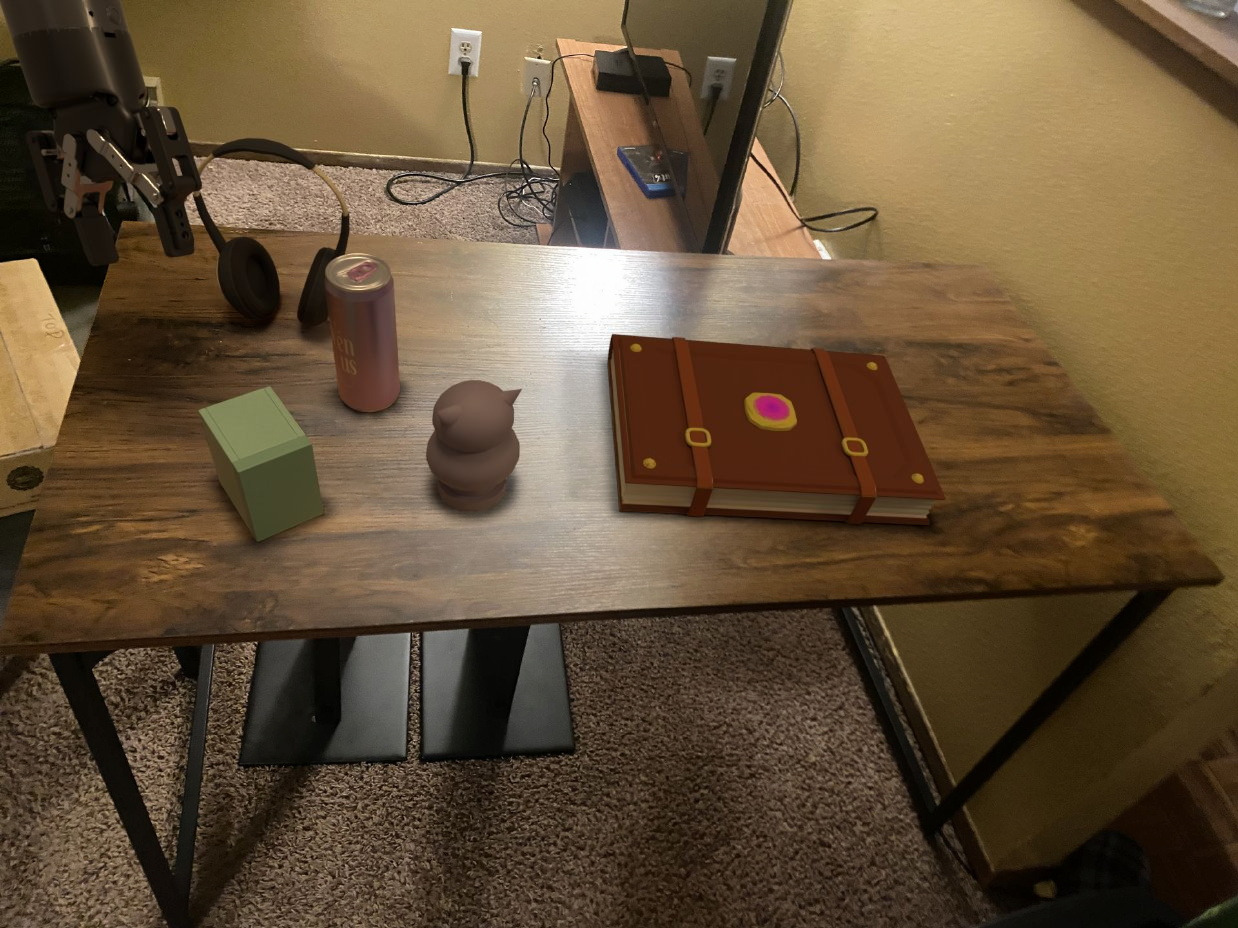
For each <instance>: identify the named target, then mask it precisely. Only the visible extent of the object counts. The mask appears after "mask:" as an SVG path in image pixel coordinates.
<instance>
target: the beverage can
mask: <svg viewBox="0 0 1238 928" xmlns="http://www.w3.org/2000/svg"><path fill="white" fill-rule="evenodd" d="M325 275H326V276H325V280H324V285H325V292H326V300H327V307H328V315H329V321H328V323H329V329H330V336H331V345H332V353H333V359H334V366H335V367H334V368H335V374H336V375H335V376H336V383H337V391H338V395H339V397H340V399H341V400H342V402H343V403H344V404H345V405H347V406H348V407H349V408H351V409H352V410H355V411H358V412H362V413H375V412H381V411H383V410H386V409H387V408H389V407H390V406H392V404H394V402H395V401H396V400H398V397H399V395H400V392H401V385H400V384H401V383H400V365H399V363H400V362H399V350H398V349H399V348H398V346H399V345H398V333H397V331H398V330H397V315H396V314H397V313H396V299H395V298H396V297H395V296H396V295H395V281H394V278H393V275H392V270H391V267H390V266H389V264H388V263H387V261H385V260H384V259H382V258H381V257H379V256H376V255H373V254H369V253H362V252H361V253H360V252H354V253H353V252H352V253H348V254H346V253H345V255H342V256H339V257H337V258H335V259H333V260H332V261H331V262H330V263H329V264H328V265H327V267H326V270H325Z"/></svg>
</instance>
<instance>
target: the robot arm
mask: <svg viewBox="0 0 1238 928" xmlns="http://www.w3.org/2000/svg"><path fill="white" fill-rule="evenodd" d="M0 9H1V12H2V13H3V17H4V19H5V21H6V25H7V29H8V31H9V34H10V37H11V40H12V44H13V46H14V50H15V53H16V54H17V58H18V61H19V64H20V67H21V70H22V73H23V75H24V79H25V82H26V85H27V88H28V92H29V94H30V97H31V100H32V102H33V103H34V104H35V105H36V106H38V107H39V108H43V109H46V110H47V111H48V112H49V113H50V114H51V117H52V121H53V130H28V131H27V132H26V134H25V137H26V143H27V146H28V148H29V152H30V155H31V159H32V162H33V165H34V169H35V172H36V175H37V178H38V181H39V185H40V188H41V191H42V195H43V199H44V202H45V205H46V207H47V209H48V210H49V211H50V212H52V213H56V212H59V213H63V214H65V215H66V216H67V217H68V218H69V219H72V220H73V223H74V225H75V228H76V231H77V235H78V237H79V240H80V243H81V244H80V245H81V246H82V250H83V252H84V255H85V256H86V258H87V261H88V263H89V264H90V265H91V266H93V267H99V266H107V265H112V264H117V263H118V262H119V261H120V256H119V253H118V250H117V249H118V248H117V246H116V243H115V240H114V237H113V234H112V231H111V228H110V224H109V222H108V218H107V216H106V215H102V214H103V213H104V207H105V201H106V195H107V193H108V192H109V191H111V190H112V189H113V186H114V182H116V181H122V180H124V181H126V182H127V183H129V184H130V185H133V186H136V187H137V188H138V189H139V191H141V193H142V194H143V195H144V196H145V197H146V198H147V200H149V202H150V203H151V204H152V205H154V206H156V207H151V208H150V209H151V213H152V216H153V220H154V222H155V225H156V229H157V232H158V236H159V239H160V243H161V246H162V248H163V249H162V250H163V252H164V255H165V256H166V257H167V258H171V259H172V258H173V259H174V258H181V257H185V256H191V255H193V254H194V253H195V251H196V250H195V249H196V248H195V236H194V233H193V230H192V227H191V222H190V220H189V216H188V213H187V209H186V204H185V203H186V202H187V200H188V197H189V196H191V194H193V192H195V191H199V192H200V191H201V190H202V189H203V182H202V179H201V176H200V175H199V172H198V166H197V163H196V160H195V158H194V153H193V151H192V147H191V145H190V141H189V138H188V135H187V133H186V129H185V126H184V123H183V120H182V117H181V115H180V114H181V113H180V111H179V109H177V107H175V106H165V105H150V106H147V105H145V106H144V105H143V106H142V105H141V102H142V101H144V100H145V99H146V98H147V96H148V90H147V89H148V88H147V86H146V83H145V79H144V76H143V73H142V72H143V71H142V69H141V66H140V62H139V59H138V55H137V52H136V48H135V45H134V41H133V38H132V35H131V31H130V28H129V24H128V21H127V18H126V14H125V11H124V8H123V3H122V1H121V0H0ZM173 159H174V160H176V161H177V163H178V167H179V169H180V172H181V173H180V174H181V175H178V173H177V169H176V166H175V164H174V161H173ZM82 174H83V175H82ZM57 179H60V180H61V181H60V184H62V185H63V186H64V188H65V194H60V192H59V188H58V185H57V184H58V183H57V182H56V181H57ZM85 194H87V198H86V197H84V195H85Z"/></svg>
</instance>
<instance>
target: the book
mask: <svg viewBox="0 0 1238 928" xmlns="http://www.w3.org/2000/svg"><path fill="white" fill-rule="evenodd" d="M607 373H608V387H609V399H610V411H611V423H612V433H613V435H612V436H613V437H612V438H613V449H614V460H615V461H614V462H615V473H616V484H617V487H616V488H617V496H618V508H619V511H621V512H622V511H623V512H627V511H628V512H639V513H640V512H641V513H643V512H644V513H663V514H664V513H665V514H685V515H687V516H688V517H699V518H702V517H704V516H705V515H706V516H727V517H729V516H730V517H750V518H769V519H791V520H812V521H813V520H814V521H831V522H833V521H835V522H845V524H848V525H862V524H863V523H875V524H876V523H878V524H898V525H921V526H929V525H930V521H931V520H930V517H929V514H930V511H929V510H931V509H933V507H932V506H934V505H935V504H936V503H935V502H937V501H945V500H947V498H946V496H945V493H944V491H943V489H942V487H941V484H940V481H939V478H938V476H937V475H936V472H935V470H934V467H933V465H932V463H931V460H930V458H929V456H928V453H927V451H926V449H925V447H924V445H923V442H922V439H921V437H920V434H919V432H918V430H917V427H916V425H915V423H914V421H913V419H912V416H911V414H910V411H909V409H908V407H907V405H906V402H905V400H904V398H903V395H902V393H901V390H900V387H899V386H898V383H897V380H896V379H895V376H894V373H893V371H892V369H891V367H890V365H889V362H888V360H887V357H886V356H885V355H883V354H873V353H872V354H871V353H858V352H846V351H833V350H825V348H817V347H811V348H809V349H808V348H795V347H784V346H783V347H782V346H773V345H772V346H769V345H757V344H746V343H745V344H744V343H734V342H720V341H709V340H708V341H707V340H695V339H687V338H685V337H679V336H672V337H671V338H670V337H669V338H668V337H658V336H657V337H656V336H644V335H631V334H620V333H619V334H618V333H611V336H610V340H609V345H608V351H607Z"/></svg>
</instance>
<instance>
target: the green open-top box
mask: <svg viewBox="0 0 1238 928" xmlns="http://www.w3.org/2000/svg"><path fill="white" fill-rule="evenodd" d="M198 415H199V418H200V421H201V425H202V428H203V431H204V434H205V438H206V441H207V444H208V447H209V451H210V454H211V458H212V461H213V464H214V467H215V471H216V475H217V478H218V481H219V484H220V485H221V488H223V490H224V492H225V493H226V495H227V496H228V498H229V499H230V501H231V503H232V504H233V506H234V507H235V509H236V511H237V512H238V514H239V515H240V517H241V519H242V520H243V522H244V524H245V525H246V527H247V529H248V530H249V532H250V533H251V535H252V537H253V538H254V540H255V542H257V543H260V542H261V541H264V540H266V539H268V538H270V537H273V536H275V535H278V534H280V533H283V532H284V531H287V530H288V529H291V528H294V527H295V526H298V525H301V524H303V523H306V522H308V521H310V520H312V519H315V518H317V517H319V516H321V515H324V513H325V512H324V506H323V501H322V500H323V499H322V495H321V494H322V493H321V488H320V482H319V476H318V471H317V465H316V460H315V454H314V447H313V443H312V442H311V440H310V439H309V438H308V436H307V435H306V434H305V432H304V431H303V430H302V428H301V427H300V425H299V424H298V423H297V421H296V420H295V418H294V417H293V416H292V414H291V412H290V411H289V410H288V408H287V407H286V406H285V404H284V402H283V401H282V400H281V398H279V396H278V394H277V393H276V392H275V390H274V389H273V388H272V387H271V386H270V385H268V386H265V387H263V388H260V389H259V388H258V389H256V390H254V391H250V392H248V393H245V394H242V395H239V396H236V397H232V398H230V399H227V400H224V401H221V402H218V403H215V404H212V405H209V406H206V407H203V408H201V409H200V408H199V409H198Z"/></svg>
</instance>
